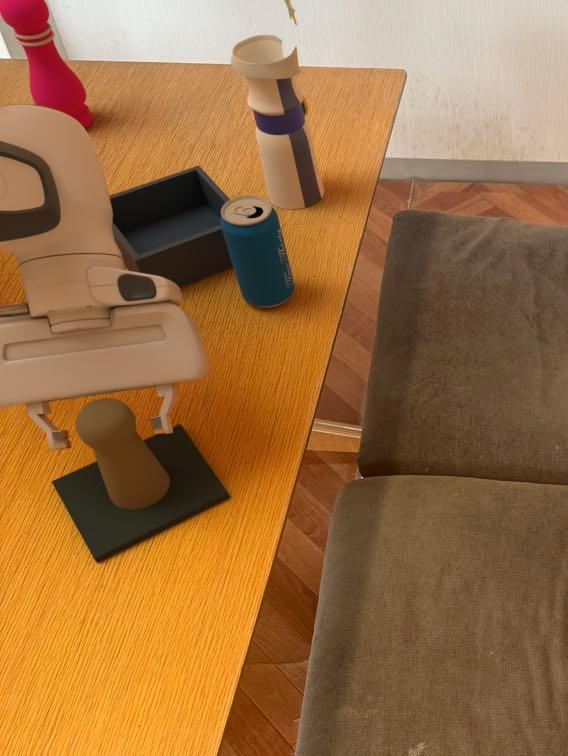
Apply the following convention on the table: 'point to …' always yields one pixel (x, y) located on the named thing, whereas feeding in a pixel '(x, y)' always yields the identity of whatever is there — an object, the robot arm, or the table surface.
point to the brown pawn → (122, 454)
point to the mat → (127, 527)
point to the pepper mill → (45, 60)
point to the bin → (172, 227)
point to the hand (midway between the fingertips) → (113, 441)
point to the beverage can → (257, 250)
